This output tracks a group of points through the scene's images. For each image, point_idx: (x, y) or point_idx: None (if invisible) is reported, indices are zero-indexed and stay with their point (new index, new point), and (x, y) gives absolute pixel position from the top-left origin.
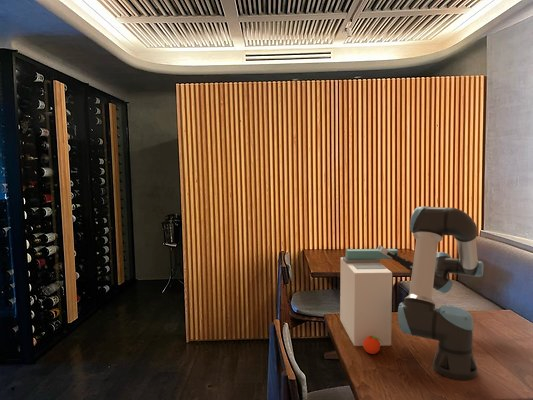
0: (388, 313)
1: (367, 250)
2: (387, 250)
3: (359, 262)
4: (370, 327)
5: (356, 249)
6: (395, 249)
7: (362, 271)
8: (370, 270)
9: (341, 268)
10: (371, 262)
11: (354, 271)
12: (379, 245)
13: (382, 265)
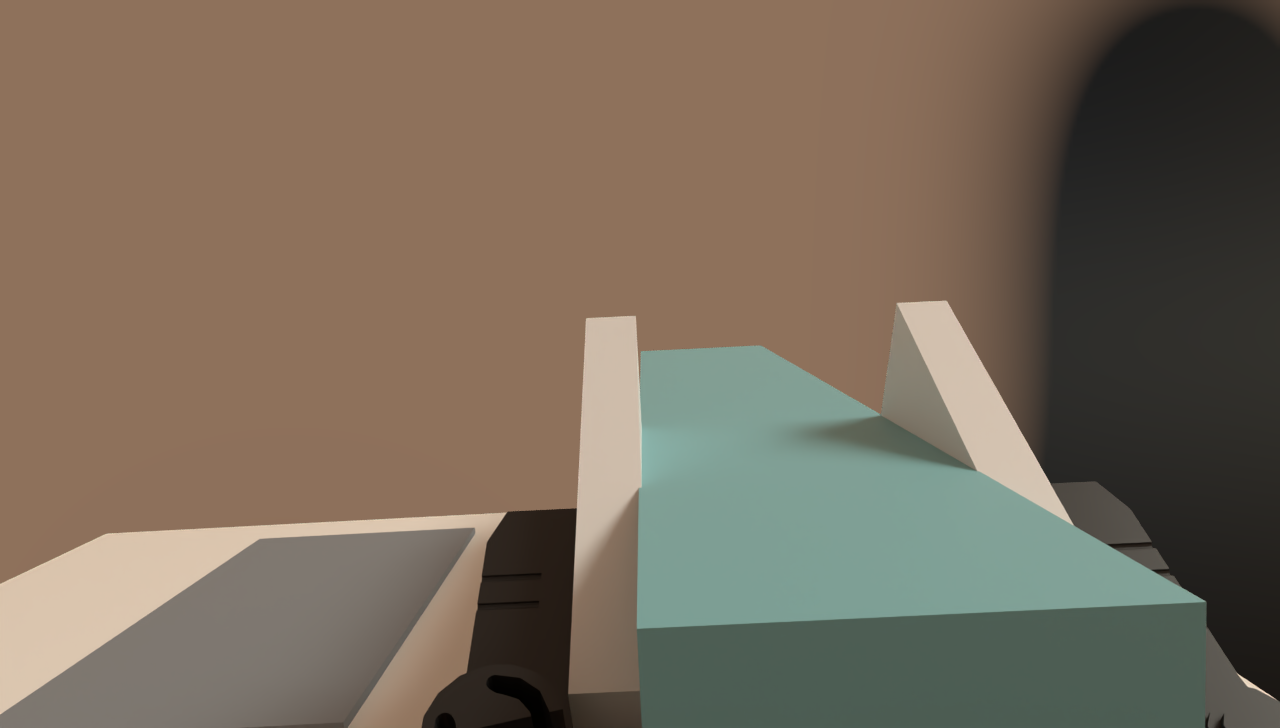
0: None
1: (674, 384)
2: (585, 457)
3: None
4: None
5: (765, 360)
6: (975, 592)
7: (108, 564)
8: (80, 607)
9: None
10: None
11: (173, 534)
12: (902, 313)
13: (246, 725)
